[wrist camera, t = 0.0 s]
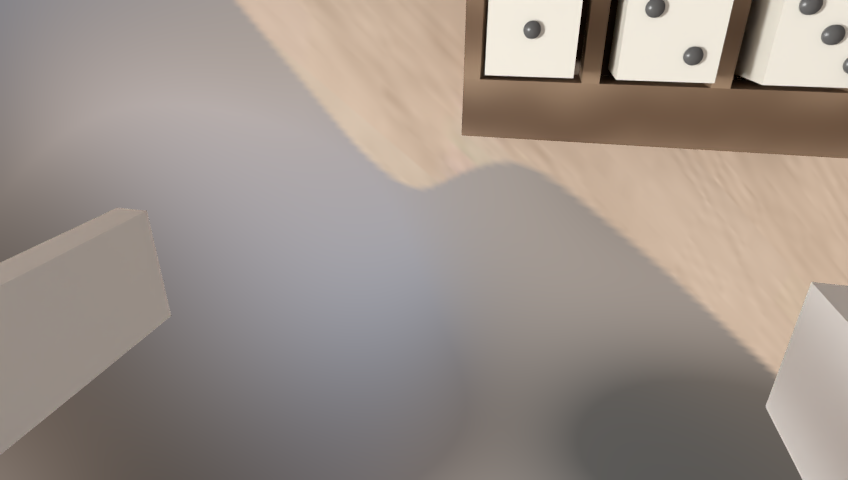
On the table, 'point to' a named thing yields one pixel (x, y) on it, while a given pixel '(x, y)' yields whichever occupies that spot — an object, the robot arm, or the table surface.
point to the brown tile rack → (650, 102)
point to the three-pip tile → (796, 43)
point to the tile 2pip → (669, 40)
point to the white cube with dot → (532, 38)
